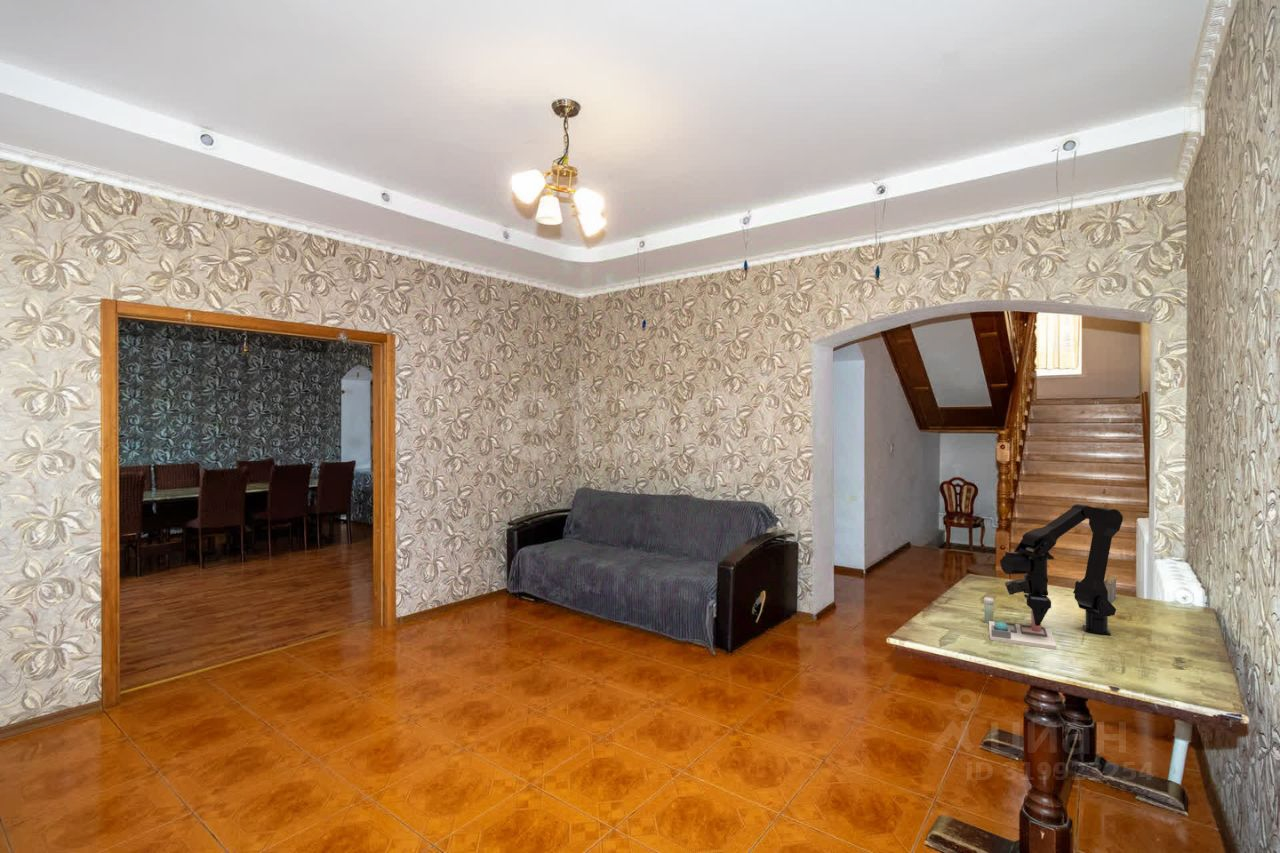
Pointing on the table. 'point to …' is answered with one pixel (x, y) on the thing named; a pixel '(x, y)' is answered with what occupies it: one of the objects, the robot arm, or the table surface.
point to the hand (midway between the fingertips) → (1036, 622)
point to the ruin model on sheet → (1110, 586)
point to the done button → (1000, 626)
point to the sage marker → (988, 609)
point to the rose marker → (1033, 626)
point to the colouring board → (1023, 635)
